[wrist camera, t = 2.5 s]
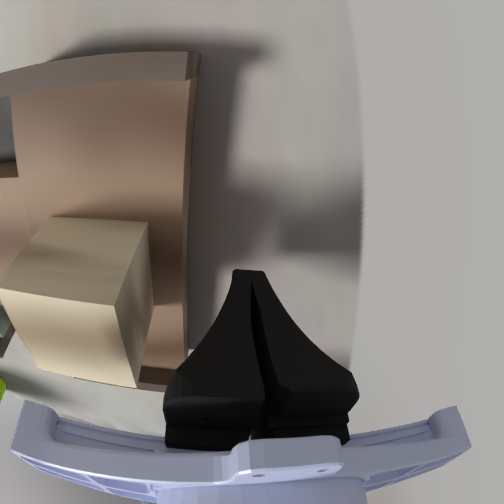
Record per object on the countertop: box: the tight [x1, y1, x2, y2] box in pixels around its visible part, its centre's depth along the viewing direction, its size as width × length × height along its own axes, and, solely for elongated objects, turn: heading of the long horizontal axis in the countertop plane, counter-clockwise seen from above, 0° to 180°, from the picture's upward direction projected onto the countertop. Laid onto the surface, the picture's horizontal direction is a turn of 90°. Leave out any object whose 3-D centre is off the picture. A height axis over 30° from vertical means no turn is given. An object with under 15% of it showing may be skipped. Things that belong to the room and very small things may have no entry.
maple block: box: [0, 216, 154, 388], centre depth 12 cm, size 5×5×5 cm
